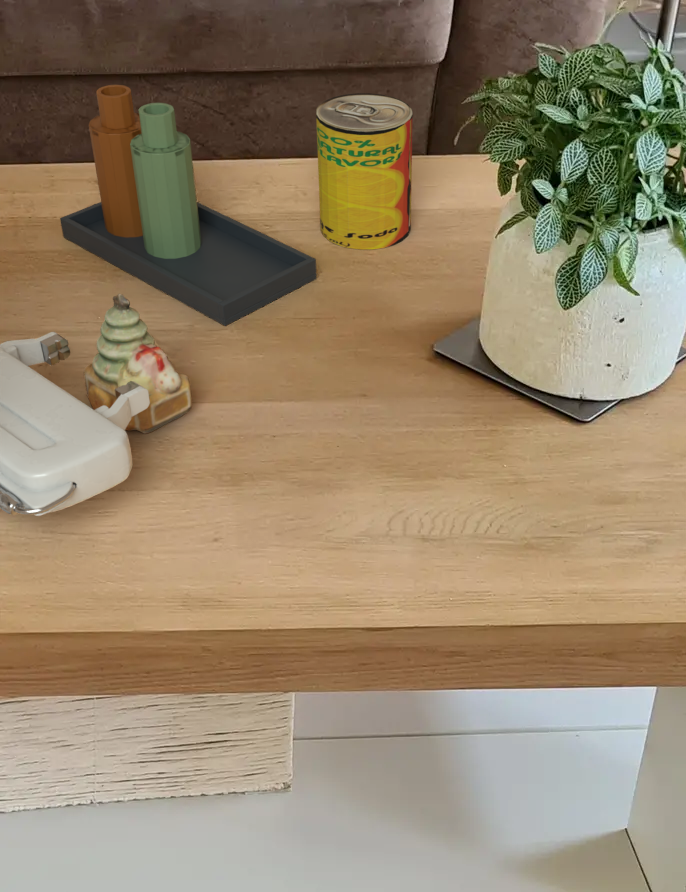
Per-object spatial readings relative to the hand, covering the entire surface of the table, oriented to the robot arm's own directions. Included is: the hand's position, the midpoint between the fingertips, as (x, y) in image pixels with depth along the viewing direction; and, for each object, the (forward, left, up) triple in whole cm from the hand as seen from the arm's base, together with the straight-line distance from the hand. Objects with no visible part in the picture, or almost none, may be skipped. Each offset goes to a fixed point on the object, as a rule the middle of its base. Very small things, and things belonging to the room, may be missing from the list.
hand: (102, 367), depth 86 cm
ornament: (0, +3, -6) cm, 6 cm away
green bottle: (-18, +21, -5) cm, 28 cm away
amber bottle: (-24, +21, -6) cm, 32 cm away
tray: (-16, +21, -5) cm, 27 cm away
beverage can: (-8, +37, -6) cm, 38 cm away
